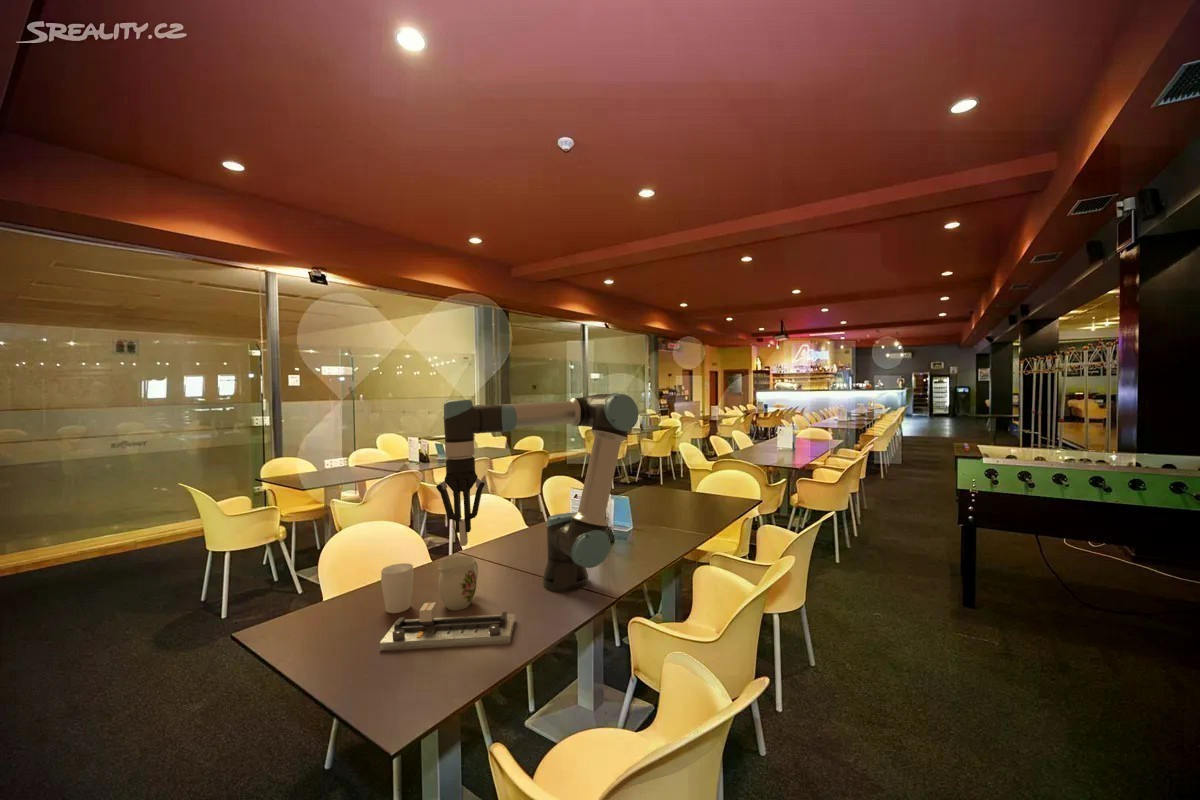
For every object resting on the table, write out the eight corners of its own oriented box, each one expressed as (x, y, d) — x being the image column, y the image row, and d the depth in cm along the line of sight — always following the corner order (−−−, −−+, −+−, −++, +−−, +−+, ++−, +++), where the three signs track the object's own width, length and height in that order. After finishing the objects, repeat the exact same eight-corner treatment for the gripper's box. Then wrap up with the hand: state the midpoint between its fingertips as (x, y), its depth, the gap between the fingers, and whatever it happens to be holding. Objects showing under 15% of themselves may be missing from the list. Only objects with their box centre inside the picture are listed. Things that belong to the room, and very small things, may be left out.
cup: (402, 616, 135) (401, 574, 135) (374, 614, 136) (373, 573, 136) (420, 603, 143) (419, 564, 143) (394, 601, 145) (393, 562, 145)
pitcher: (492, 594, 149) (491, 551, 149) (457, 619, 132) (455, 571, 132) (463, 590, 152) (462, 548, 152) (425, 614, 135) (424, 567, 135)
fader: (436, 621, 126) (436, 601, 126) (431, 630, 122) (431, 609, 122) (425, 622, 126) (424, 602, 126) (419, 630, 122) (419, 609, 122)
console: (515, 620, 130) (514, 606, 130) (509, 643, 118) (509, 627, 118) (397, 627, 128) (397, 612, 128) (379, 650, 116) (379, 634, 116)
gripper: (487, 454, 130) (490, 538, 130) (439, 456, 129) (442, 541, 129) (482, 457, 123) (486, 547, 123) (431, 460, 121) (435, 550, 122)
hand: (463, 544), depth 126 cm, fingers closed
